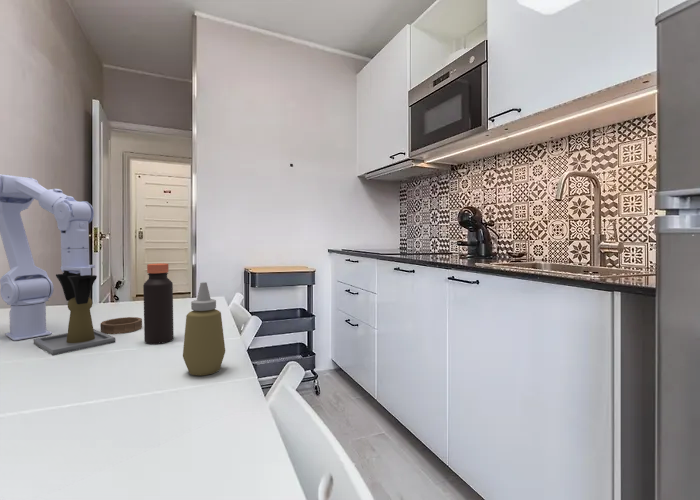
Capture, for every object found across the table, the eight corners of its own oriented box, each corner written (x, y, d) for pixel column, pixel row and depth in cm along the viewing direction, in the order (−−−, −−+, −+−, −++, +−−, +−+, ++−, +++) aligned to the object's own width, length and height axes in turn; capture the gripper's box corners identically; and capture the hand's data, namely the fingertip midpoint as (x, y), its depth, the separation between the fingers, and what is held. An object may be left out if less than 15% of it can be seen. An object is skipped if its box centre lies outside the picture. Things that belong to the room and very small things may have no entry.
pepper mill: (81, 343, 92) (80, 299, 92) (59, 342, 93) (58, 298, 93) (100, 337, 98) (100, 295, 98) (80, 336, 99) (79, 295, 99)
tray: (33, 343, 94) (33, 338, 94) (92, 332, 104) (92, 328, 104) (52, 355, 85) (52, 350, 85) (115, 342, 95) (115, 337, 95)
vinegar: (152, 346, 92) (150, 265, 91) (139, 341, 96) (138, 264, 95) (178, 340, 98) (177, 264, 97) (165, 335, 102) (164, 262, 101)
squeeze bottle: (190, 364, 79) (189, 280, 78) (229, 363, 80) (229, 280, 79) (176, 379, 71) (174, 285, 70) (219, 378, 72) (218, 285, 71)
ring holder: (95, 330, 107) (95, 321, 107) (132, 323, 115) (132, 315, 115) (109, 336, 101) (109, 327, 101) (147, 328, 109) (147, 320, 109)
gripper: (104, 248, 93) (105, 302, 94) (83, 247, 102) (84, 296, 102) (70, 249, 87) (72, 307, 88) (51, 248, 96) (52, 300, 97)
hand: (76, 301), depth 95 cm, fingers open, 7 cm apart
